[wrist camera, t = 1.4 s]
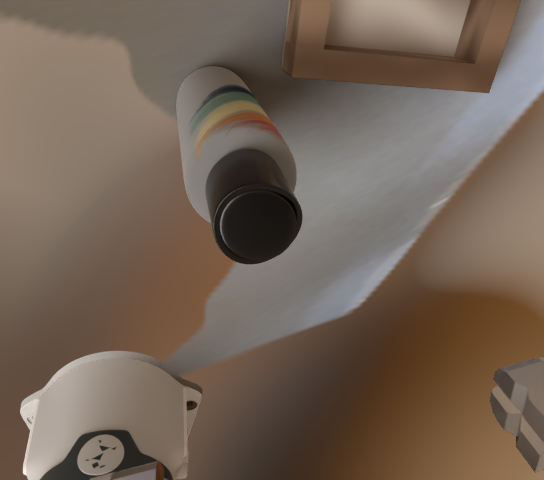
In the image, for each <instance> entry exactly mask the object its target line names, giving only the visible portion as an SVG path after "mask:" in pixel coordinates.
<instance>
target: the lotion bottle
mask: <svg viewBox="0 0 544 480" xmlns="http://www.w3.org/2000/svg"><path fill="white" fill-rule="evenodd" d="M176 108H177V119H178V129H179V138H180V146H181V147H180V148H181V156H182V166H183V175H184V183H185V188H186V192H187V195H188V198H189V200H190V202H191V204H192V206H193V207H194V208H195V210H196V211H197V212H198V213H199V214H200V215H201V216H202V217H203V218H204V219H206V220H207V221H208V222H210V223H211V225H212V230H213V234H214V237H215V240H216V243H217V245H218V246H219V248H220V249H221V251H222V252H223V253H224V254H225V255H226V256H228V257H229V258H230V259H232V260H234V261H236V262H239V263H242V264H258V263H262V262H265V261H268V260H270V259H272V258H274V257H276V256H278V255H280V254H281V253H282V252H284V251H285V250H286V249H287V248H288V247H289V245H290V244H291V243H292V242H293V241H294V239H295V238H296V236H297V234H298V232H299V230H300V228H301V224H302V210H301V207H300V205H299V203H298V201H297V199H296V197H295V195H294V193H293V192H294V189H295V185H296V166H295V161H294V158H293V155H292V153H291V151H290V149H289V147H288V146H287V144H286V143H285V141H284V140H283V138H282V137H281V135H280V134H279V132H278V131H277V129H276V128H275V126H274V125H273V123H272V122H271V120H270V119H269V118H268V116H267V115H266V113H265V112H264V110H263V109H262V107H261V106H260V104H259V103H258V102H257V100H256V99H255V97H254V96H253V94H252V93H251V91H250V90H249V88H248V87H247V86H246V84H245V83H244V82H243V81H242V79H241V78H240V77H239V76H237V75H236V74H235V73H233V72H232V71H230V70H228V69H226V68H223V67H218V66H208V67H203V68H200V69H198V70H196V71H194V72H192V73H191V74H190V75H189V76H187V78H186V79H185V80H184V81H183V83H182V84H181V86H180V88H179V91H178V95H177V101H176Z"/></svg>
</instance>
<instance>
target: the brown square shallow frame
mask: <svg viewBox="0 0 544 480" xmlns="http://www.w3.org/2000/svg"><path fill="white" fill-rule="evenodd" d="M520 1H521V0H289V4H288V12H287V21H286V29H285V38H284V46H283V55H282V63H281V68H282V69H283V70H284V71H285V72H286V73H287V74H289V75H290V76H291V77H292V78H305V79H317V80H330V81H342V82H355V83H368V84H380V85H393V86H406V87H418V88H431V89H444V90H456V91H469V92H482V93H489V92H490V89H491V86H492V83H493V80H494V77H495V74H496V71H497V68H498V65H499V62H500V59H501V57H502V54H503V51H504V48H505V45H506V42H507V39H508V36H509V33H510V30H511V27H512V24H513V21H514V19H515V16H516V13H517V10H518V7H519V4H520Z"/></svg>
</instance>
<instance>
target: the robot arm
mask: <svg viewBox="0 0 544 480" xmlns="http://www.w3.org/2000/svg"><path fill="white" fill-rule="evenodd" d="M162 365H163V362H162V361H160V360H158V359H156V358H153V357H151V356H148V355H145V354H141V353H136V352H129V351H106V352H100V353H94V354H90V355H87V356H84V357H81V358H79V359H76V360H74V361H72V362H70V363H69V364H67V365H65V366H64V367H63V368H61V369H60V370H59V371H58V372H57V373H56V374H55V375H54V376H53V377H52V378H51V380H50V381H49V382H48V383H47V385H46V386H45V387H44V388H43V389H41V390H39V391H37V392H36V393H34V394H32V395H30V396H28V397H27V398H25V399H24V400H23V401H22V403H21V409H20V413H21V415H22V417H23V419H24V421H25V422H26V424H27V426H28V428H29V429H30V435H29V440H28V445H27V450H26V455H25V460H24V465H23V474H24V475H27V478H28V480H175V479H185V478H186V477H187V473H188V461H189V450H188V446H187V442H188V439H189V436H190V433H191V430H192V427H193V424H194V421H195V418H196V415H197V412H198V409H199V406H200V403H201V400H202V388H201V387H200V386H199V385H197V384H195V383H192V382H190V381H188V380H185V379H183V378H181V377H180V376H179V377H175V378H173V377H172V376H171V375H169V374H168V373H167V372H165V371H164V370H162V369H160V368H159V367H160V366H162ZM494 380H495V382H496V383H497V384H498V385H497V386H496V387H495V388H494V389H493V390H492V391H491V398H490V403H491V406H492V410H493V413H494V415H495V417H496V419H497V421H498V422H499V424H500V425H501V427H502V428H503V429H504V430H505V431H506V432H508V433H511V434H512V435H514V436H516V447H517V449H518V450H519V451H520V453H521V454H522V456H523V457H524V458H525V460H526V461H527V462H528V464H529V465H530V466H531V468H532V469H533V470H534V472H535V473H536V472H540V471H544V357H541V358H537V359H531V360H528V361H524V362H521V363H517V364H514V365H510V366H507V367H503V368H500V369H498V370H497V371H496V372H495V375H494Z"/></svg>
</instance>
